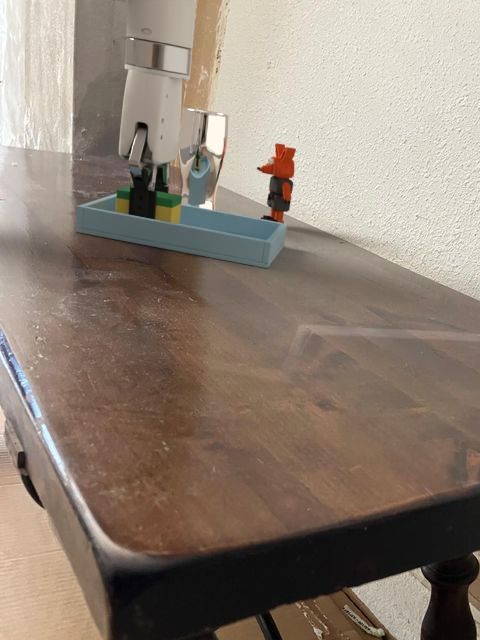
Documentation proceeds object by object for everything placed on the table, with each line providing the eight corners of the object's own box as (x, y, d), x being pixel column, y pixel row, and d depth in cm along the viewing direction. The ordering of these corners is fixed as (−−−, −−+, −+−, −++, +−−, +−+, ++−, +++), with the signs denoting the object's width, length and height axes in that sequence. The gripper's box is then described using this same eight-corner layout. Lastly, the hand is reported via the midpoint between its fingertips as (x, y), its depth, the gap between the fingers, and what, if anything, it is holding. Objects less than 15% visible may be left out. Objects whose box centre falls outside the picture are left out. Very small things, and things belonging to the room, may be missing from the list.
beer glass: (185, 221, 108) (196, 111, 102) (164, 211, 113) (173, 105, 107) (227, 224, 112) (239, 117, 106) (205, 213, 117) (216, 111, 111)
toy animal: (243, 217, 120) (253, 138, 115) (274, 220, 122) (285, 144, 117) (258, 228, 113) (269, 145, 109) (291, 231, 116) (303, 150, 111)
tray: (75, 232, 90) (76, 205, 89) (118, 215, 104) (120, 192, 103) (267, 268, 90) (271, 242, 88) (284, 246, 104) (287, 224, 103)
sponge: (115, 222, 93) (116, 189, 91) (126, 217, 97) (128, 185, 95) (170, 232, 93) (172, 199, 91) (179, 227, 97) (182, 195, 95)
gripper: (148, 59, 95) (138, 205, 102) (101, 51, 79) (94, 224, 87) (205, 70, 95) (192, 215, 102) (170, 63, 79) (158, 235, 87)
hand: (147, 217), depth 94 cm, fingers closed on sponge, 4 cm apart
